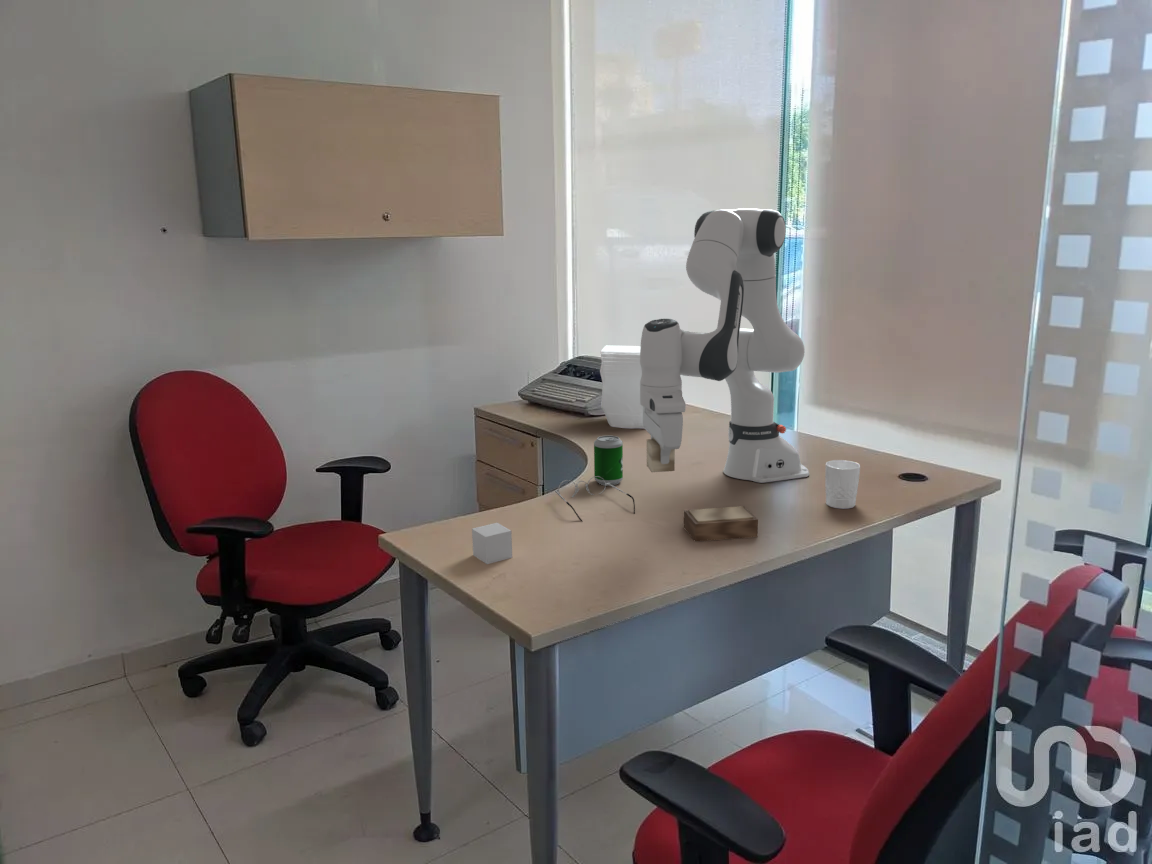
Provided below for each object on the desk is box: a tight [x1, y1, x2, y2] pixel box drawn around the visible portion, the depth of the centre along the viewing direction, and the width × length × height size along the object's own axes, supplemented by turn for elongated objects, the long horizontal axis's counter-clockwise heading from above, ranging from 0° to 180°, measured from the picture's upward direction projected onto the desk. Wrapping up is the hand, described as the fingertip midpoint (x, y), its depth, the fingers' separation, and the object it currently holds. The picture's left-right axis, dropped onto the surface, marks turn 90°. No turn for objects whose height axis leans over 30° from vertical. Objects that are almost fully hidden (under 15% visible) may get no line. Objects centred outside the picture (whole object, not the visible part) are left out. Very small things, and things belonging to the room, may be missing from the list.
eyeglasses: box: [554, 476, 636, 523], centre depth 206 cm, size 16×19×5 cm
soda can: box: [593, 435, 624, 487], centre depth 224 cm, size 8×8×12 cm
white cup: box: [824, 459, 861, 510], centre depth 204 cm, size 8×8×10 cm
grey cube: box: [471, 522, 513, 565], centre depth 176 cm, size 6×6×6 cm
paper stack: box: [599, 344, 645, 430], centre depth 283 cm, size 21×27×26 cm
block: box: [646, 438, 676, 473], centre depth 185 cm, size 5×5×6 cm
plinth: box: [683, 505, 759, 543], centre depth 188 cm, size 14×9×4 cm, turn 99°
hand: (660, 458), depth 185 cm, fingers closed on block, 5 cm apart
